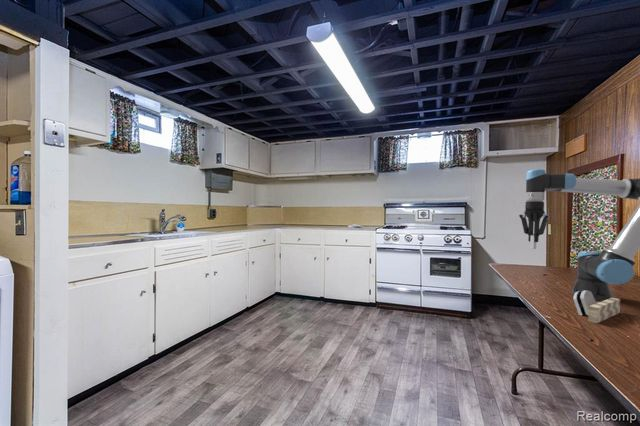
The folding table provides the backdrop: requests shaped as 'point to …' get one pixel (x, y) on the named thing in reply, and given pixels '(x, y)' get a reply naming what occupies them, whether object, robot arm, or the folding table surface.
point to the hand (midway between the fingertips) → (533, 248)
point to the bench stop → (603, 310)
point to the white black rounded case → (583, 301)
